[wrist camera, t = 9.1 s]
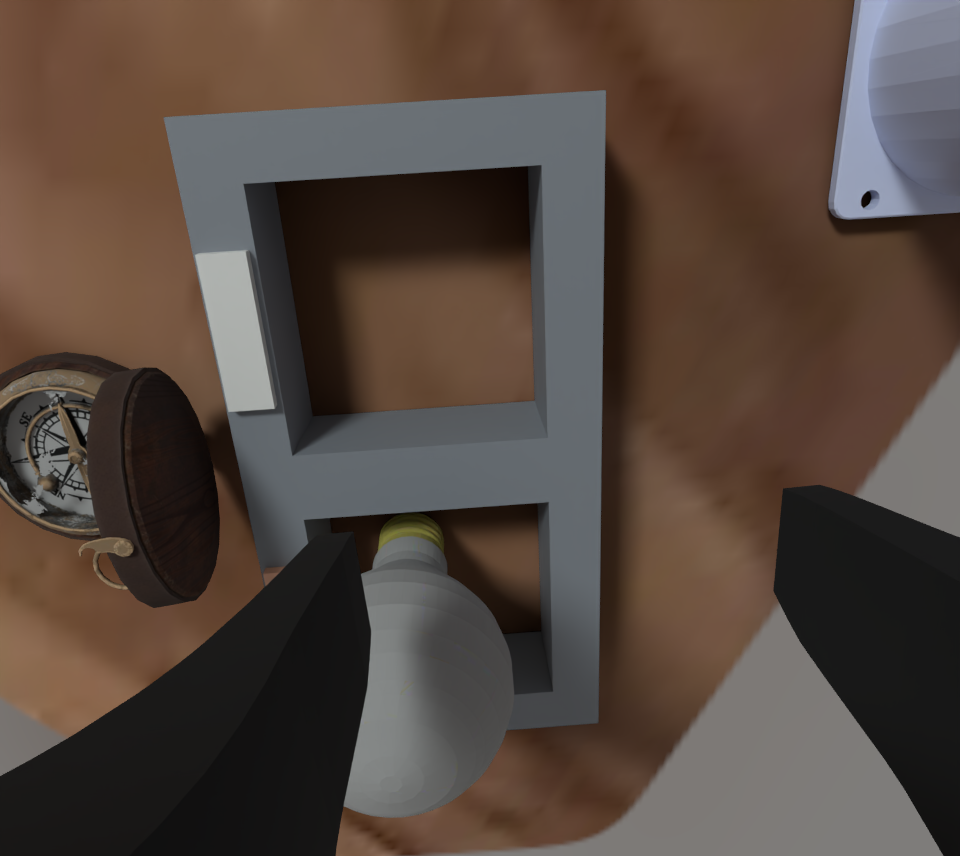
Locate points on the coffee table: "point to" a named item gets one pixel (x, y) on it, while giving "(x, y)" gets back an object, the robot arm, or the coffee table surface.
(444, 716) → the light bulb
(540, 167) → the socket block
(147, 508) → the compass
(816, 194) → the coffee table surface
